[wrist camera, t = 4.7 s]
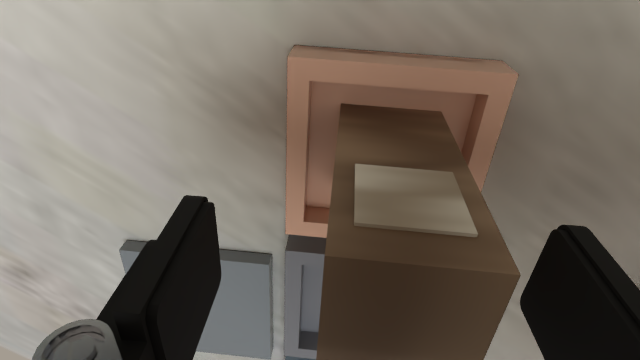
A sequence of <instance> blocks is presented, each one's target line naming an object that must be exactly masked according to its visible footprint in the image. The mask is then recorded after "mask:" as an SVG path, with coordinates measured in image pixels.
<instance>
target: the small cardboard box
mask: <svg viewBox="0 0 640 360" xmlns="http://www.w3.org/2000/svg"><path fill="white" fill-rule="evenodd" d="M519 278H520V273H519V271H518V268H517V266H516V264H515V262H514V260H513V258H512V256H511V254H510V252H509V250H508V248H507V246H506V244H505V242H504V240H503V238H502V236H501V233H500V231H499V229H498V227H497V225H496V223H495V221H494V219H493V217H492V215H491V213H490V211H489V209H488V207H487V205H486V203H485V201H484V198H483V196H482V194H481V192H480V190H479V188H478V186H477V184H476V182H475V180H474V178H473V176H472V174H471V172H470V170H469V168H468V166H467V163H466V161H465V159H464V157H463V155H462V153H461V151H460V149H459V147H458V145H457V143H456V141H455V139H454V137H453V135H452V133H451V131H450V128H449V126H448V124H447V122H446V120H445V118H444V116H443V114H442V112H441V111H429V110H416V109H404V108H392V107H380V106H367V105H355V104H343V103H341V107H340V116H339V126H338V135H337V144H336V154H335V163H334V172H333V182H332V191H331V200H330V210H329V219H328V228H327V238H326V247H325V257H324V269H323V281H322V294H321V306H320V319H319V331H318V343H317V356H316V360H483V359H484V357H485V355H486V353H487V350H488V348H489V346H490V344H491V341H492V339H493V337H494V334H495V332H496V330H497V328H498V325H499V323H500V321H501V319H502V316H503V314H504V312H505V310H506V307H507V305H508V303H509V300H510V298H511V296H512V294H513V291H514V289H515V287H516V285H517V282H518V280H519Z"/></svg>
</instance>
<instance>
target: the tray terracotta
mask: <svg viewBox="0 0 640 360" xmlns="http://www.w3.org/2000/svg"><path fill="white" fill-rule="evenodd" d="M518 75H519V74H518V73H517V72H515V71H514V70H513V69H512V68H511V67H509V66H508V65H507V64H506V63H505V62H503V61H500V60H487V59H473V58H460V57H447V56H434V55H421V54H407V53H394V52H381V51H368V50H355V49H341V48H328V47H315V46H302V45H294V47H293V48H292V50H291V52H290V53H289V55H288V61H287V148H286V234H291V235H301V236H312V237H322V238H327V228H328V219H329V210H330V200H331V191H332V182H333V172H334V163H335V154H336V144H337V135H338V126H339V116H340V107H341V103H343V104H355V105H367V106H380V107H392V108H404V109H416V110H429V111H441V112H442V114H443V116H444V118H445V120H446V122H447V124H448V126H449V128H450V131H451V133H452V135H453V137H454V139H455V141H456V143H457V145H458V147H459V149H460V151H461V153H462V155H463V157H464V159H465V161H466V163H467V166H468V168H469V170H470V172H471V174H472V176H473V178H474V180H475V182H476V184H477V186H478V188H479V190H480V192H481V191H482V188H483V185H484V182H485V178H486V175H487V172H488V169H489V166H490V163H491V160H492V157H493V153H494V150H495V147H496V144H497V141H498V138H499V135H500V132H501V129H502V125H503V122H504V119H505V116H506V113H507V110H508V107H509V104H510V100H511V97H512V94H513V91H514V88H515V85H516V82H517V79H518Z"/></svg>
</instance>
